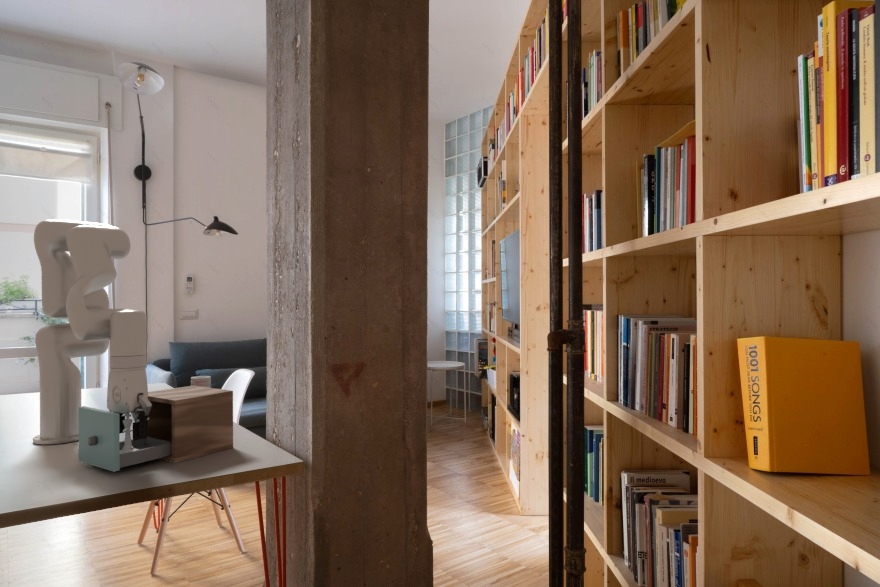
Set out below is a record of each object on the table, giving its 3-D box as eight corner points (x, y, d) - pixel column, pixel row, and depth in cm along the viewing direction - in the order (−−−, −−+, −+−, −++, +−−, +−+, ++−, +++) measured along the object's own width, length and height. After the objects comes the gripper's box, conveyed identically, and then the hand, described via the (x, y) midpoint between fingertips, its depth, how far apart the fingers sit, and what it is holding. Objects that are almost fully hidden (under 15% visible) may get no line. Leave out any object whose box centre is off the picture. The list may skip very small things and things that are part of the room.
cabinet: (135, 452, 144) (135, 393, 144) (193, 438, 158) (193, 385, 158) (174, 462, 135) (174, 400, 135) (233, 447, 148) (232, 390, 148)
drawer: (73, 461, 132) (72, 407, 132) (142, 446, 145) (142, 397, 145) (108, 473, 123) (107, 415, 123) (178, 455, 136) (178, 403, 137)
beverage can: (215, 426, 173) (215, 376, 173) (198, 429, 168) (198, 378, 168) (203, 423, 176) (203, 374, 176) (187, 427, 171) (186, 377, 171)
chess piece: (125, 458, 131) (125, 414, 131) (110, 456, 133) (110, 412, 133) (144, 453, 136) (144, 410, 136) (130, 450, 138) (130, 409, 138)
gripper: (93, 362, 136) (93, 434, 136) (132, 366, 127) (132, 444, 127) (125, 359, 142) (125, 428, 142) (164, 363, 133) (165, 437, 133)
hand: (128, 436), depth 134 cm, fingers open, 9 cm apart
